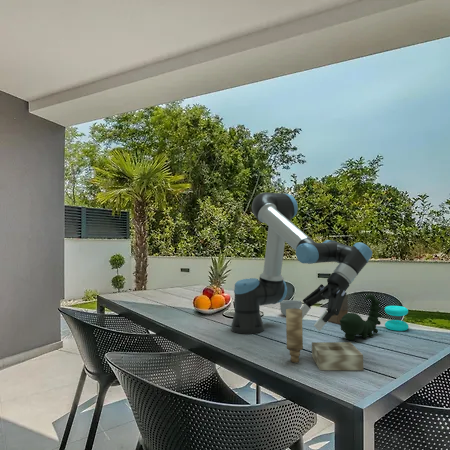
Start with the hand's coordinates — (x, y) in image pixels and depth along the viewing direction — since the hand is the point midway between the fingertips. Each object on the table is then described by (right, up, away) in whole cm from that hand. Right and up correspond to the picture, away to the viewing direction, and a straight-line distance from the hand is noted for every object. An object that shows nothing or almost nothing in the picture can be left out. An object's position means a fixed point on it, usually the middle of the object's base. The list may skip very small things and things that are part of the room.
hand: (306, 323), depth 132 cm
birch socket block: (+10, -13, -2) cm, 16 cm away
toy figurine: (+29, -14, +28) cm, 43 cm away
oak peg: (-4, -13, 0) cm, 14 cm away
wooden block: (+27, -14, +54) cm, 62 cm away
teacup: (+8, -15, +72) cm, 74 cm away
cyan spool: (+51, -13, +41) cm, 67 cm away
